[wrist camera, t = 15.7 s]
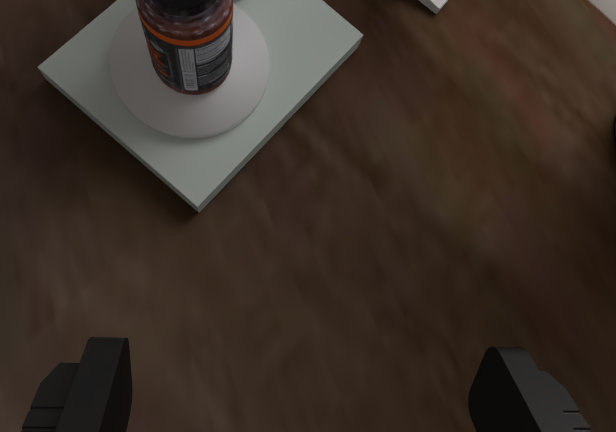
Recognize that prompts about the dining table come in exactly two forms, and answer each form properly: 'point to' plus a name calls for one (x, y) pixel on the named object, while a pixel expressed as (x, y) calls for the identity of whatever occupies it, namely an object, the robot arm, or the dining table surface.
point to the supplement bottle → (189, 42)
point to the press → (210, 106)
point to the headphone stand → (434, 4)
